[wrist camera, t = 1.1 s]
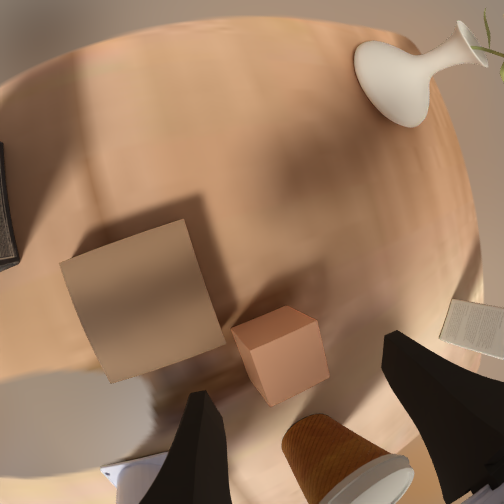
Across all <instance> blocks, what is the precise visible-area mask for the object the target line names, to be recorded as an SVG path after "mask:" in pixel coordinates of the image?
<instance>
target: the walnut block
mask: <svg viewBox="0 0 504 504" xmlns="http://www.w3.org/2000/svg"><path fill="white" fill-rule="evenodd" d="M59 265H60V268H61V271H62V274H63V277H64V280H65V283H66V286H67V288H68V291H69V294H70V297H71V299H72V302H73V304H74V307H75V310H76V312H77V315H78V317H79V319H80V322H81V324H82V326H83V329H84V331H85V333H86V335H87V338H88V340H89V342H90V344H91V346H92V348H93V350H94V353H95V355H96V357H97V359H98V361H99V363H100V365H101V367H102V368H103V370H104V372H105V374H106V376H107V378H108V380H109V381H110V383H111V384H112V383H115V382H119V381H122V380H125V379H129V378H132V377H135V376H138V375H141V374H144V373H147V372H150V371H154V370H157V369H160V368H162V367H165V366H168V365H171V364H174V363H177V362H180V361H183V360H185V359H188V358H191V357H194V356H196V355H199V354H202V353H204V352H207V351H210V350H212V349H215V348H217V347H220V346H223V345H225V344H226V341H225V338H224V336H223V333H222V330H221V327H220V325H219V322H218V319H217V317H216V314H215V311H214V308H213V305H212V303H211V300H210V297H209V294H208V291H207V288H206V285H205V282H204V280H203V277H202V274H201V271H200V268H199V265H198V262H197V259H196V256H195V252H194V249H193V246H192V243H191V240H190V237H189V234H188V230H187V227H186V224H185V221H184V219H181V220H178V221H174V222H171V223H168V224H165V225H162V226H159V227H156V228H153V229H150V230H147V231H145V232H142V233H139V234H136V235H133V236H130V237H127V238H124V239H122V240H119V241H116V242H113V243H111V244H108V245H105V246H102V247H100V248H97V249H94V250H92V251H89V252H86V253H84V254H81V255H78V256H76V257H73V258H71V259H68V260H66V261H63V262H61V263H59Z"/></svg>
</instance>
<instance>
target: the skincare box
mask: <svg viewBox="0 0 504 504" xmlns="http://www.w3.org/2000/svg"><path fill="white" fill-rule="evenodd" d="M439 339H440V340H442V341H444V342H447V343H449V344H452V345H456V346H459V347H462V348H465V349H469V350H472V351H475V352H479V353H482V354H486V355H489V356H492V357H496V358H499V359H503V360H504V308H502V307H497V306H491V305H485V304H480V303H475V302H469V301H464V300H458V299H452V301H451V304H450V308H449V311H448V314H447V317H446V320H445V323H444V326H443V329H442V332H441V335H440V338H439Z"/></svg>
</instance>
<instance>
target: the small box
mask: <svg viewBox="0 0 504 504" xmlns="http://www.w3.org/2000/svg"><path fill="white" fill-rule="evenodd" d="M19 262H20V259H19V255H18V251H17V246H16V242H15V237H14V232H13V227H12V222H11V217H10V210H9V204H8V197H7V189H6V179H5V167H4V151H3V143H2V142H1V141H0V272H1V271H3V270H5V269H8V268H10V267H13V266H15V265H17V264H19Z"/></svg>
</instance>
